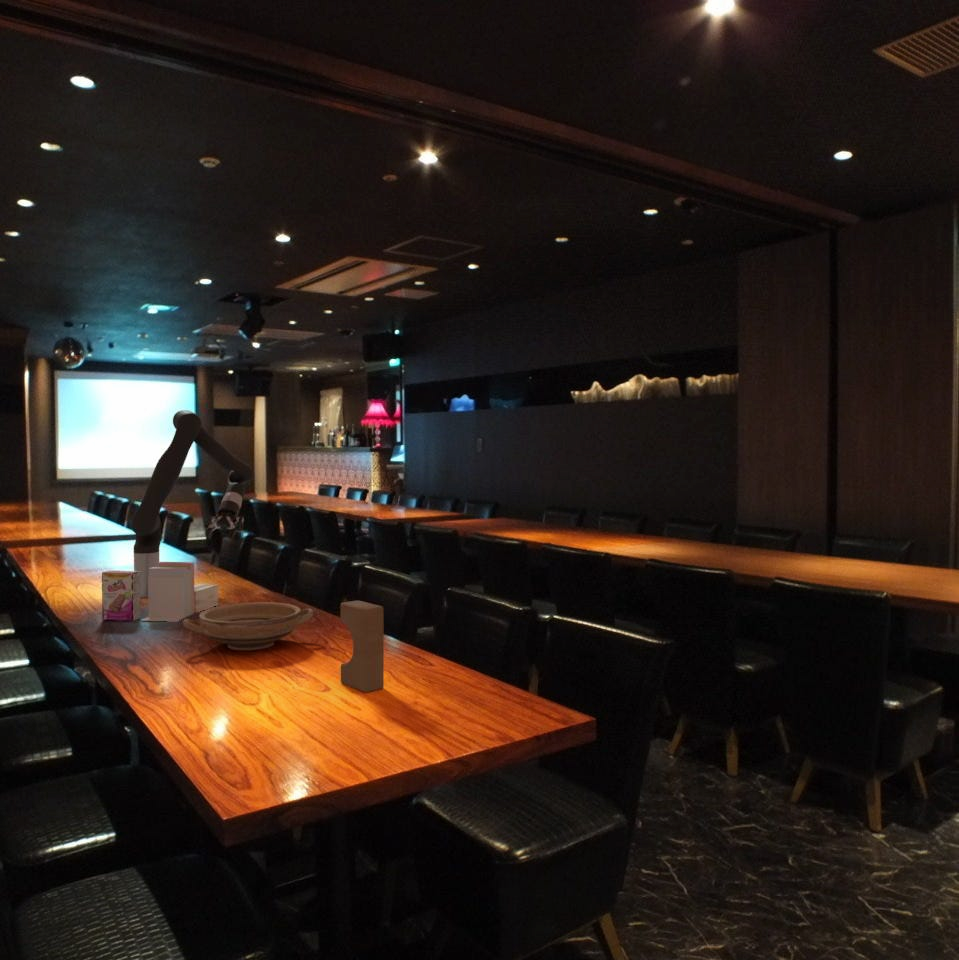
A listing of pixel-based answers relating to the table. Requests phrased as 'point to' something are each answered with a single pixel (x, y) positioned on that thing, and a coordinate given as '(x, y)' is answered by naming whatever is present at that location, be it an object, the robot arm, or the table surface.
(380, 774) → the table surface
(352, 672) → the decorative block
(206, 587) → the beige rectangular block
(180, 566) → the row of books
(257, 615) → the ceramic bowl
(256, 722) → the table surface
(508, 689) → the table surface
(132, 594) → the candy bar box
